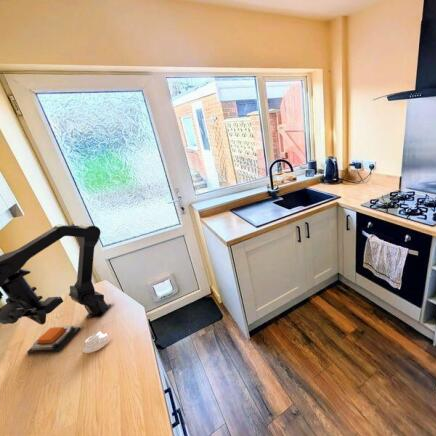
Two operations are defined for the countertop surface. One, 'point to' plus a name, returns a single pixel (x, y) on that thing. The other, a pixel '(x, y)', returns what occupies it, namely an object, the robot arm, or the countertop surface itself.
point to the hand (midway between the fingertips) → (43, 323)
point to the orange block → (51, 335)
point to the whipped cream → (95, 342)
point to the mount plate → (57, 344)
